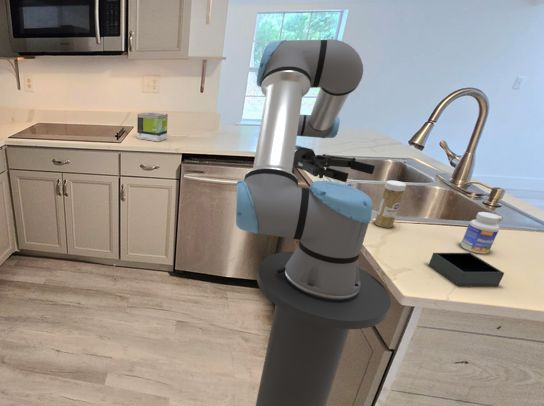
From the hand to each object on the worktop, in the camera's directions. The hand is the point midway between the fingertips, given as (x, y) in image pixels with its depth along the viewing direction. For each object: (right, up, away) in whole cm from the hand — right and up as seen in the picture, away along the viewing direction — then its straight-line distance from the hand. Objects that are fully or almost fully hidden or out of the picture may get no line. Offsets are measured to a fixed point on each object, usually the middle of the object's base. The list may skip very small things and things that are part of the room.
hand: (360, 173), depth 111 cm
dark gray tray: (+5, -26, -27) cm, 37 cm away
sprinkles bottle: (+5, -16, -3) cm, 17 cm away
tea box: (-50, +29, +105) cm, 120 cm away
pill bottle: (+18, -21, -16) cm, 32 cm away
